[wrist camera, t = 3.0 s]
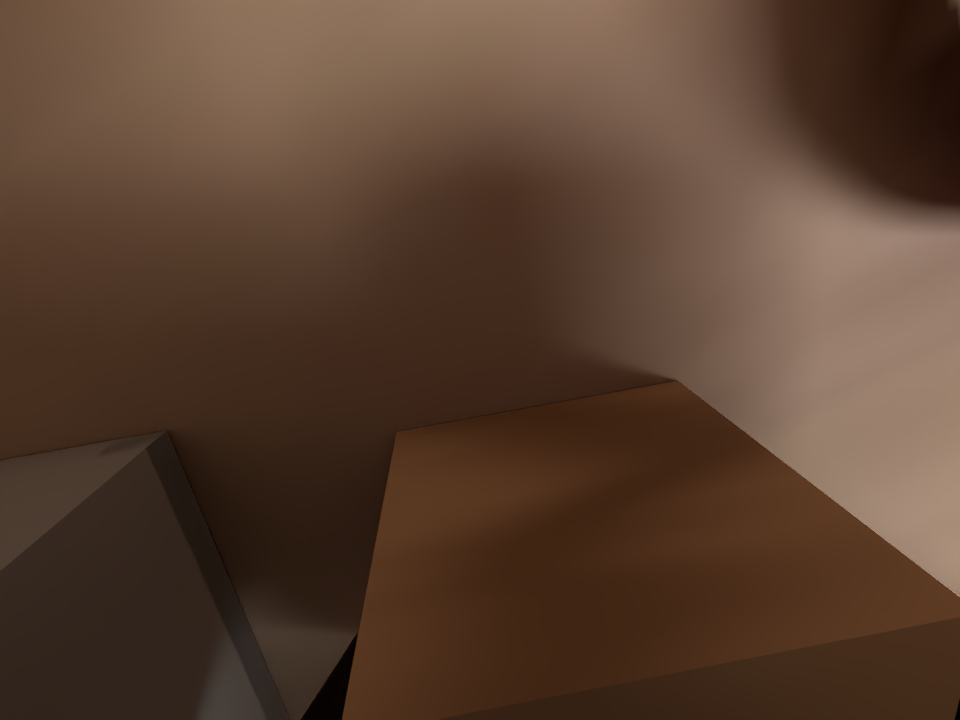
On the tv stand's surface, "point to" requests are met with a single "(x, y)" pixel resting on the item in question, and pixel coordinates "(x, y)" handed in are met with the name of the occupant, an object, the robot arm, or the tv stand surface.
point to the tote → (119, 594)
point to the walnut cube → (636, 579)
